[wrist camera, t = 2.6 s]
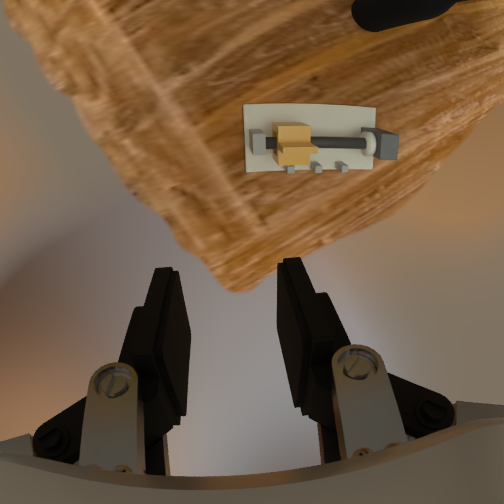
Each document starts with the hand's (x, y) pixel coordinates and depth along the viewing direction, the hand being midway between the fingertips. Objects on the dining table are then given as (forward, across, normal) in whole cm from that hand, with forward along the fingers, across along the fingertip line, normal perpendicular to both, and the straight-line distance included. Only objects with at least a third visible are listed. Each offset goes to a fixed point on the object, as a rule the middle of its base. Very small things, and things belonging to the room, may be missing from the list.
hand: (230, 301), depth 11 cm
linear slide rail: (+37, -13, 0) cm, 39 cm away
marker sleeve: (+34, -9, 0) cm, 35 cm away
